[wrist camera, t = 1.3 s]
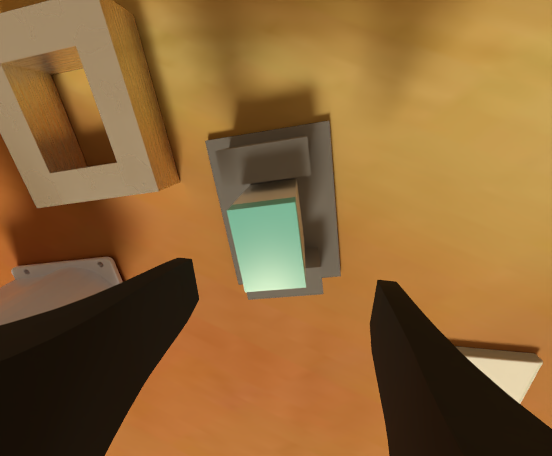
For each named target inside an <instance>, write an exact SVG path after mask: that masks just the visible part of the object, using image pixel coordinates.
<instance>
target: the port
mask: <svg viewBox="0 0 552 456" xmlns="http://www.w3.org/2000/svg"><path fill="white" fill-rule="evenodd" d="M80 68H84V71H85V73H86V76H87V79H88V82H89V85H90V87H91V90H92V93H93V96H94V99H95V102H96V104H97V107H98V110H99V113H100V116H101V118H102V121H103V124H104V127H105V130H106V133H107V135H108V138H109V141H110V144H111V147H112V149H113V152H114V155H115V158H116V161H117V162H115V163H109V164H103V165H96V166H90V167H87V164H86V162H85V159H84V157H83V154H82V152H81V149H80V147H79V144H78V142H77V139H76V137H75V134H74V132H73V129H72V127H71V124H70V122H69V119H68V117H67V114H66V111H65V109H64V106H63V104H62V101H61V99H60V96H59V94H58V91H57V89H56V86H55V84H54V81H53V79H52V76H51V75H52V74H57V73H62V72H66V71H71V70H75V69H80ZM0 134H1V136H2V138H3V140H4V142H5V144H6V146H7V148H8V150H9V152H10V154H11V156H12V158H13V160H14V162H15V164H16V166H17V168H18V170H19V172H20V174H21V177H22V179H23V181H24V183H25V185H26V187H27V189H28V191H29V193H30V195H31V197H32V199H33V201H34V203H35V205H36V207H37V208H43V207H50V206H57V205H64V204H71V203H78V202H86V201H93V200H100V199H107V198H114V197H122V196H129V195H136V194H143V193H150V192H157V191H161V190H163V189H165V188H168V187H170V186H172V185H175V184H177V183H179V182H180V180H179V176H178V172H177V169H176V165H175V162H174V158H173V155H172V151H171V147H170V144H169V140H168V137H167V133H166V129H165V126H164V122H163V119H162V115H161V112H160V108H159V104H158V101H157V97H156V94H155V90H154V87H153V83H152V79H151V76H150V72H149V69H148V65H147V62H146V58H145V54H144V51H143V47H142V44H141V40H140V36H139V33H138V29H137V26H136V22H135V19H134V15H133V14H132V13H130V12H129V11H127V10H126V9H124V8H123V7H122V6H120V5H119V4H117V3H116V2H114V1H113V0H49V1H45V2H41V3H37V4H34V5H30V6H26V7H22V8H18V9H15V10H11V11H7V12H3V13H0Z"/></svg>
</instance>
